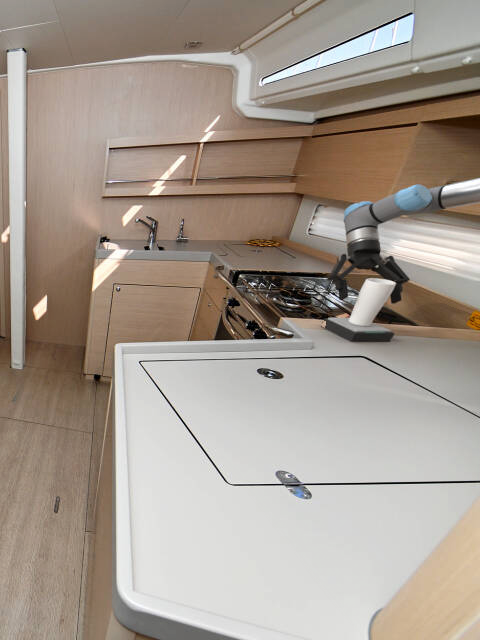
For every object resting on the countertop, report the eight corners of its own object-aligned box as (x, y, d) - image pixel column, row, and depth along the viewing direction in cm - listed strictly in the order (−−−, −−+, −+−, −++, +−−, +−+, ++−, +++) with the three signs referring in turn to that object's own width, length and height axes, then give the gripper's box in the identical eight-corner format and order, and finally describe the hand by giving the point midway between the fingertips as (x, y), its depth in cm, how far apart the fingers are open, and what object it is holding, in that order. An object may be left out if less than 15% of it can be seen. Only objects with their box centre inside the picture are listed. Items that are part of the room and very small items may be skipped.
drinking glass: (346, 325, 118) (368, 282, 111) (342, 318, 123) (363, 276, 116) (375, 329, 115) (399, 285, 108) (370, 322, 120) (393, 279, 113)
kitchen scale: (389, 341, 115) (395, 331, 113) (350, 341, 116) (356, 331, 114) (355, 326, 126) (361, 316, 124) (320, 326, 126) (325, 316, 125)
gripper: (400, 251, 121) (408, 308, 116) (311, 248, 128) (315, 301, 123) (420, 239, 114) (430, 298, 109) (325, 236, 122) (330, 292, 116)
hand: (369, 300), depth 116 cm, fingers open, 13 cm apart
